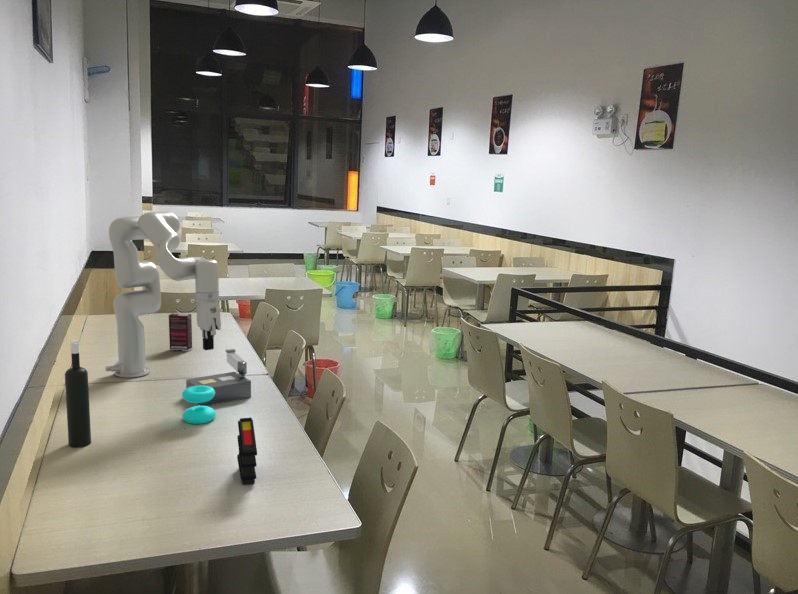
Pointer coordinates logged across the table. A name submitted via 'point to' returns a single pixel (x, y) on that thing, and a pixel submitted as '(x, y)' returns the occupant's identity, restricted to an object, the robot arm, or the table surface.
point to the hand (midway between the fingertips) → (208, 349)
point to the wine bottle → (77, 401)
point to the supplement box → (180, 331)
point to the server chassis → (224, 387)
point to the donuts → (198, 412)
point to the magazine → (247, 451)
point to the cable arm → (236, 362)
